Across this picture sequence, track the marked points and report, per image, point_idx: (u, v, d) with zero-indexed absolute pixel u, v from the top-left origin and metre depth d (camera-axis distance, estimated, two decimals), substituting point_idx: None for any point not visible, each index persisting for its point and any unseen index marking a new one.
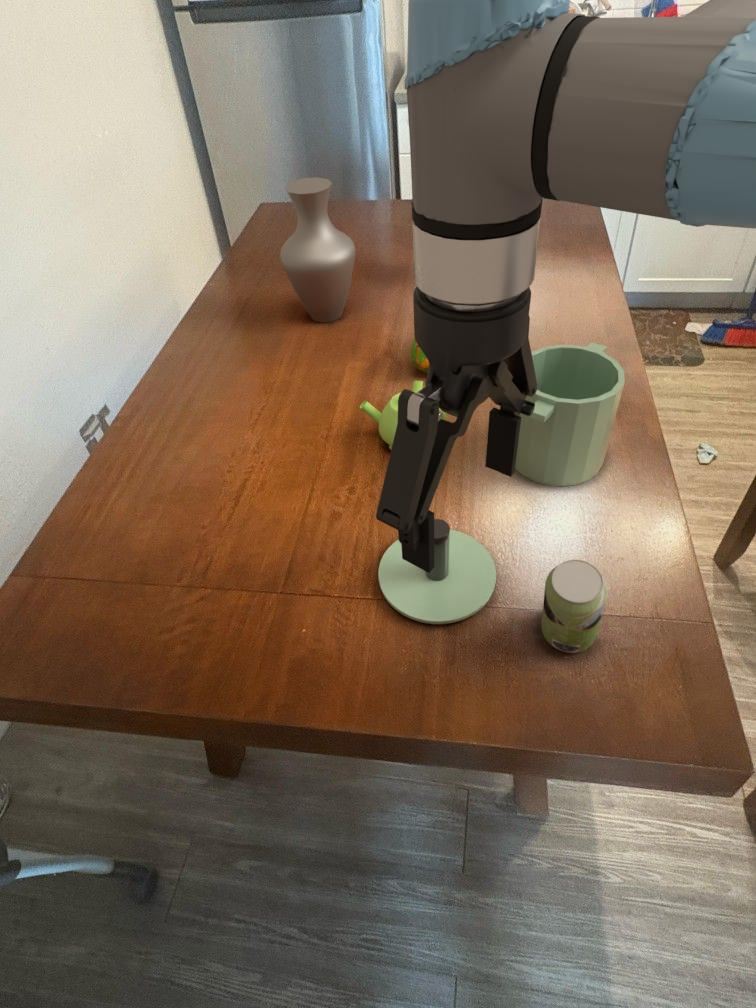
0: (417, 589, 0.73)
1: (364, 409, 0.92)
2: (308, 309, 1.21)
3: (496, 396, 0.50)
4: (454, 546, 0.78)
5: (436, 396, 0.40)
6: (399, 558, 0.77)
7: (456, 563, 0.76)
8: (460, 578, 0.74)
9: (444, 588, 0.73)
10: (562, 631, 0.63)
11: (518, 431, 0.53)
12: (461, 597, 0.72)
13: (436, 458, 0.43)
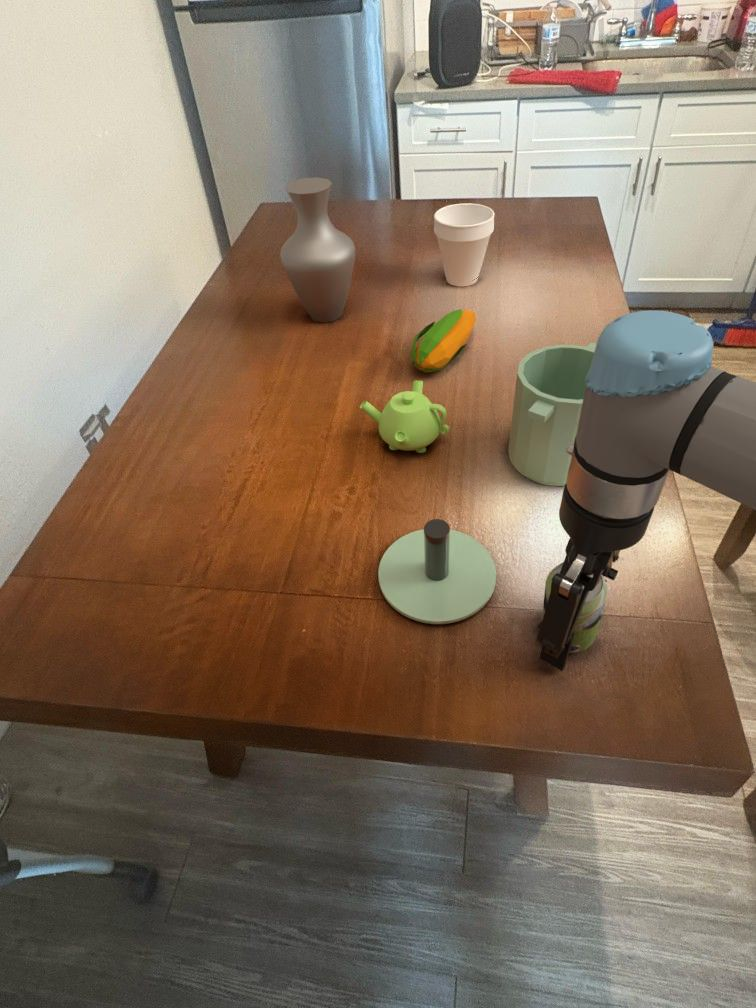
0: (417, 589, 0.73)
1: (364, 409, 0.92)
2: (308, 309, 1.21)
3: None
4: (454, 546, 0.78)
5: (579, 574, 0.53)
6: (399, 558, 0.77)
7: (456, 563, 0.76)
8: (460, 578, 0.74)
9: (444, 588, 0.73)
10: None
11: None
12: (461, 597, 0.72)
13: (577, 604, 0.58)
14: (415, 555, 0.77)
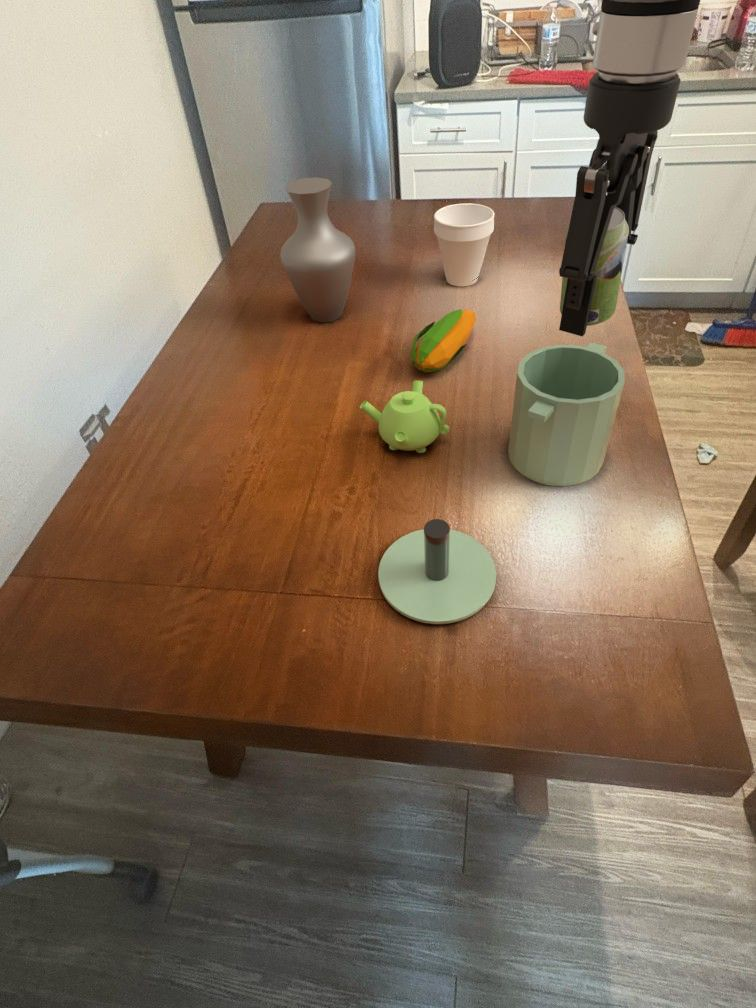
0: (417, 589, 0.73)
1: (364, 409, 0.92)
2: (308, 309, 1.21)
3: None
4: (454, 546, 0.78)
5: (604, 168, 0.54)
6: (399, 558, 0.77)
7: (456, 563, 0.76)
8: (460, 578, 0.74)
9: (444, 588, 0.73)
10: None
11: None
12: (461, 597, 0.72)
13: (600, 226, 0.58)
14: (415, 555, 0.77)
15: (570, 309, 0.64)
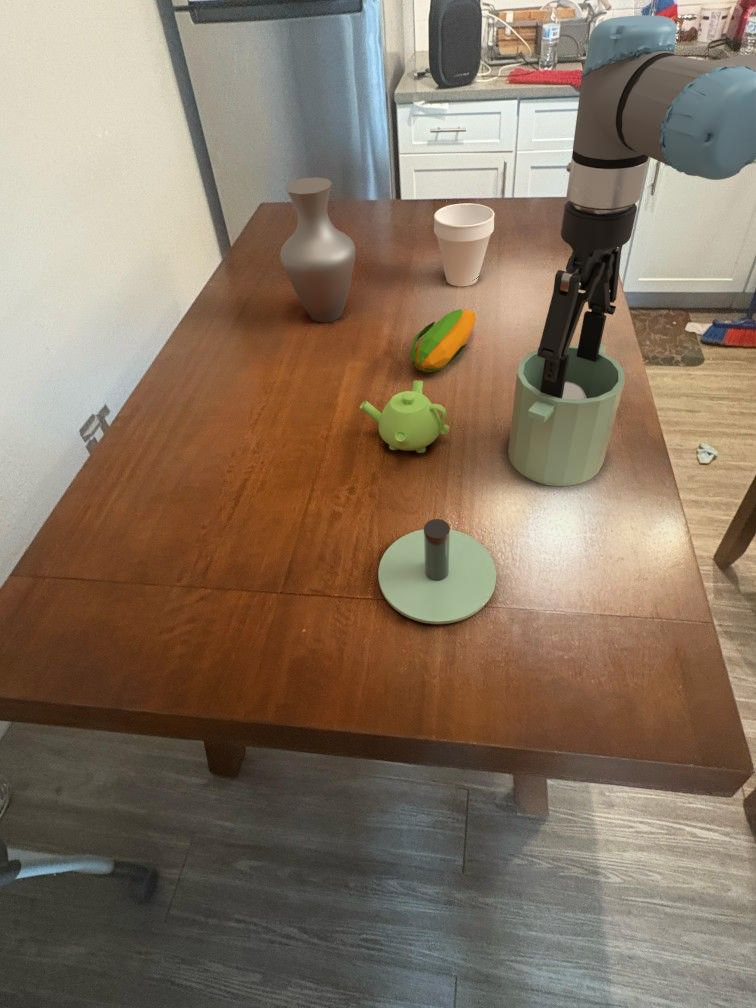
0: (417, 589, 0.73)
1: (364, 409, 0.92)
2: (308, 309, 1.21)
3: (594, 294, 0.76)
4: (454, 546, 0.78)
5: (577, 273, 0.66)
6: (399, 558, 0.77)
7: (456, 563, 0.76)
8: (460, 578, 0.74)
9: (444, 588, 0.73)
10: None
11: (603, 326, 0.79)
12: (461, 597, 0.72)
13: (573, 316, 0.70)
14: (415, 555, 0.77)
15: (548, 380, 0.76)
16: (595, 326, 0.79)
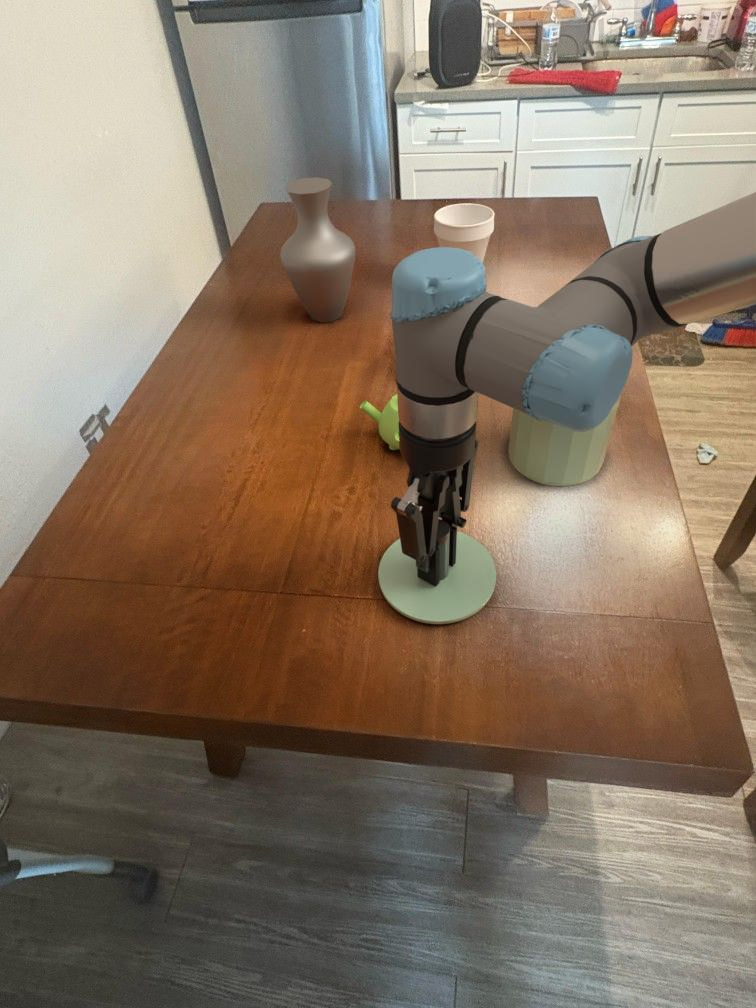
0: (417, 589, 0.73)
1: (364, 409, 0.92)
2: (308, 309, 1.21)
3: None
4: None
5: (415, 496, 0.60)
6: (399, 558, 0.77)
7: (456, 563, 0.76)
8: (460, 578, 0.74)
9: (444, 588, 0.73)
10: None
11: (455, 537, 0.72)
12: (461, 597, 0.72)
13: (429, 523, 0.65)
14: None
15: None
16: None
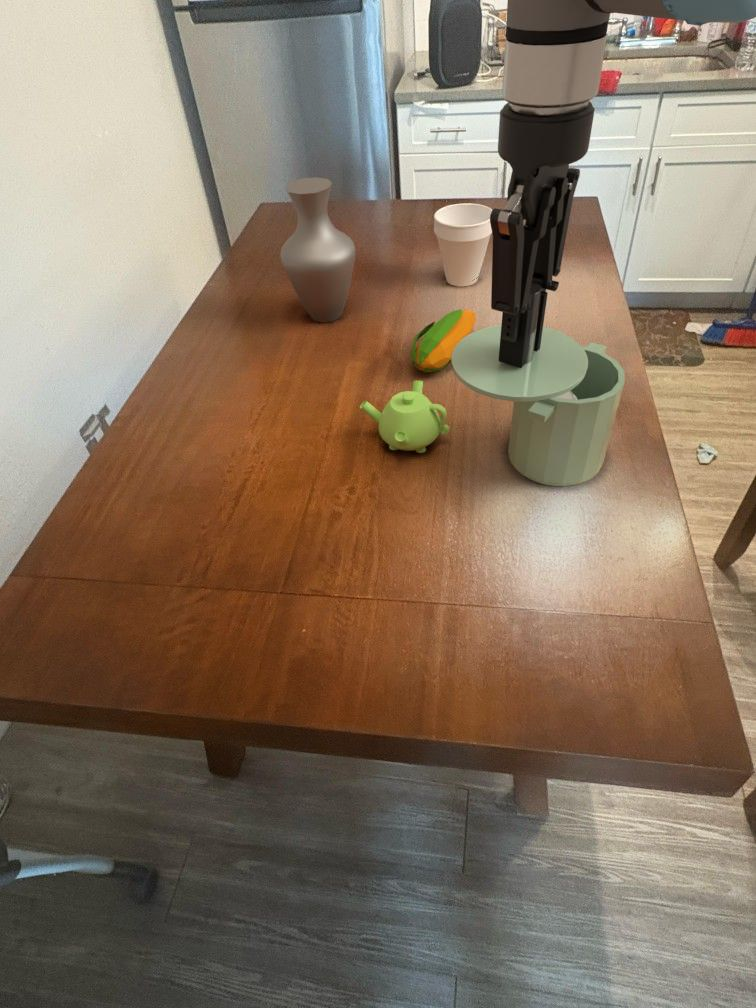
0: (499, 372, 0.64)
1: (364, 409, 0.92)
2: (308, 309, 1.21)
3: (536, 252, 0.59)
4: None
5: (518, 206, 0.51)
6: (473, 348, 0.68)
7: (539, 350, 0.67)
8: (547, 361, 0.65)
9: (530, 370, 0.64)
10: None
11: (544, 306, 0.63)
12: (551, 376, 0.63)
13: (526, 261, 0.56)
14: (491, 345, 0.68)
15: (507, 341, 0.63)
16: None
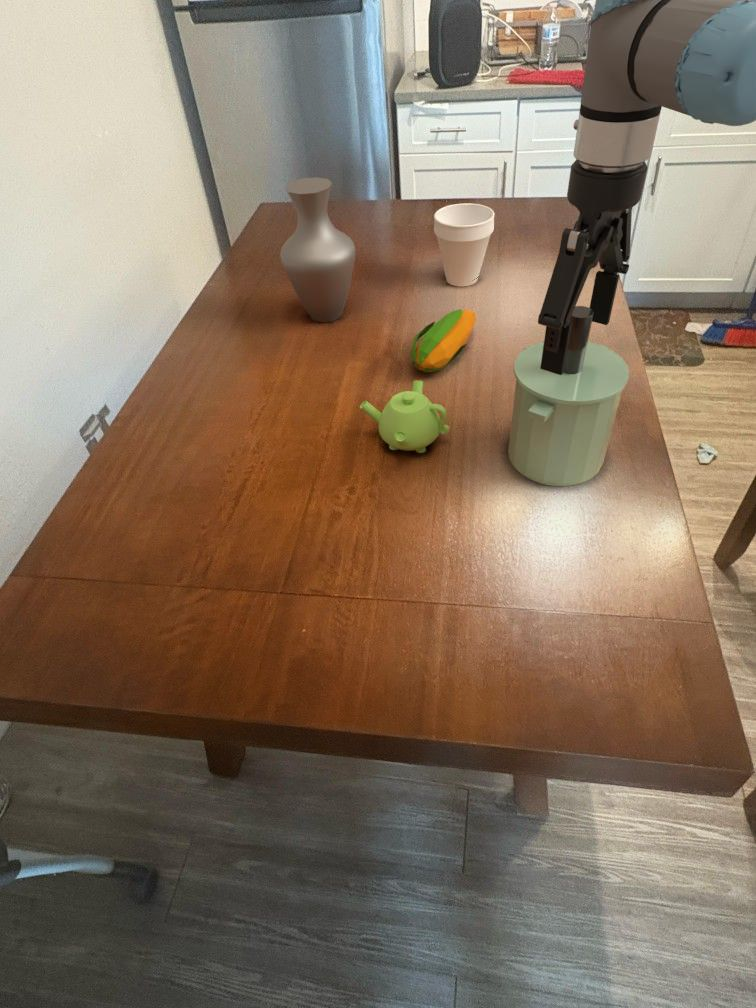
0: (555, 380, 0.78)
1: (364, 409, 0.92)
2: (308, 309, 1.21)
3: (605, 256, 0.73)
4: None
5: None
6: (532, 360, 0.81)
7: (588, 362, 0.80)
8: (594, 371, 0.79)
9: (581, 379, 0.78)
10: None
11: (616, 286, 0.76)
12: (598, 384, 0.77)
13: (578, 281, 0.66)
14: None
15: (549, 351, 0.71)
16: (607, 286, 0.76)
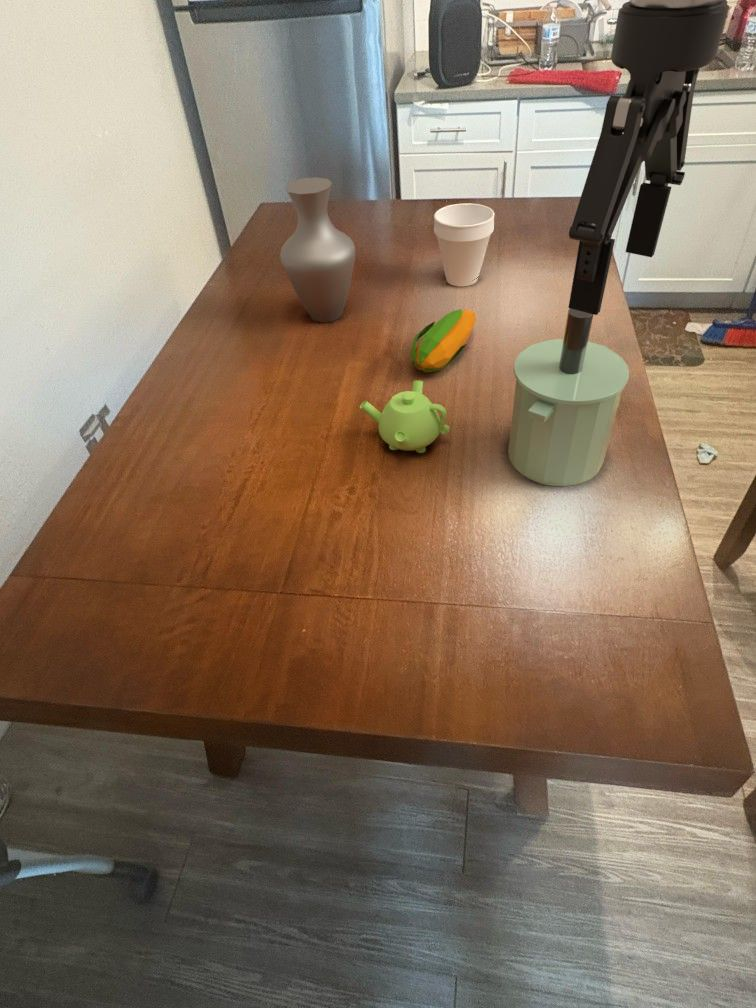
0: (555, 380, 0.78)
1: (364, 409, 0.92)
2: (308, 309, 1.21)
3: (656, 157, 0.55)
4: None
5: None
6: (532, 360, 0.81)
7: (588, 362, 0.80)
8: (594, 371, 0.79)
9: (581, 379, 0.78)
10: None
11: (666, 203, 0.58)
12: (598, 384, 0.77)
13: (625, 177, 0.48)
14: (547, 357, 0.82)
15: (582, 281, 0.53)
16: (655, 203, 0.58)
